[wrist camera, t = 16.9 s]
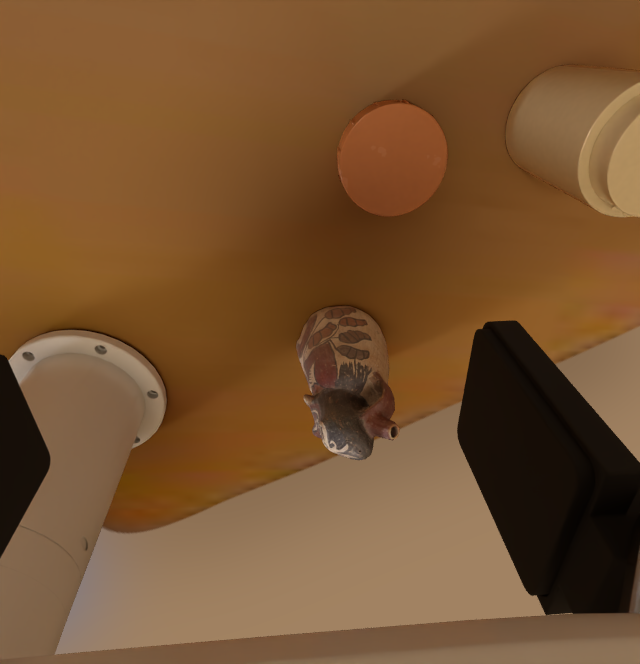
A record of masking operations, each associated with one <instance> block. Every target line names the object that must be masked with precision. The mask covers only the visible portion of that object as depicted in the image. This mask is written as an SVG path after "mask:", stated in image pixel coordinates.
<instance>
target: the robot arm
mask: <svg viewBox="0 0 640 664" xmlns="http://www.w3.org/2000/svg"><path fill="white" fill-rule="evenodd" d="M166 403H167V398H166V390H165V387H164V384H163V382H162V379H161V377H160V376H159V374H158V373H157V371H156V369H155V368H154V367H153V366H152V365H151V364H150V362H149V361H148V360H147V359H146V358H145V357H144V356H142V355H141V354H140V353H138V352H137V351H136V350H135V349H133V348H132V347H130V346H128V345H126V344H124V343H123V342H121V341H119V340H116V339H114V338H111V337H108V336H106V335H103V334H99V333H94V332H90V331H82V330H61V331H53V332H49V333H45V334H42V335H39V336H37V337H35V338H33V339H31V340H29V341H27V342H26V343H25V344H24V345H22V346H21V347H20V348H19V349H18V350H17V351H16V352H15V354H14V355H13V356H12V357H11V358H10V359H9V361H8V360H7V358H6V357H5V356H4V355H0V664H640V462H639V461H638V460H637V459H636V458H635V457H634V456H633V454H632V453H631V452H630V451H629V450H628V449H627V447H626V446H625V445H624V444H623V443H622V442H621V440H620V439H619V438H618V437H617V436H616V435H615V434H614V433H613V431H612V430H611V429H610V428H609V427H608V425H607V424H606V423H605V422H604V421H603V420H602V418H601V417H599V415H598V414H597V413H596V412H595V410H594V409H593V408H592V407H591V406H590V405H589V403H587V401H586V400H585V399H584V398H583V397H582V395H581V394H580V393H579V392H578V391H577V390H576V388H575V387H574V386H573V385H572V384H571V383H570V382H569V380H568V379H567V378H566V377H565V376H564V374H563V373H562V372H561V371H560V370H559V369H558V368H557V367H556V365H555V364H554V363H553V362H552V361H551V359H550V358H549V357H548V356H547V355H546V354H545V352H544V351H543V350H542V349H541V348H540V347H539V346H538V344H537V343H536V342H535V341H534V340H533V339H532V337H531V336H530V335H529V334H528V333H527V332H526V330H525V329H524V328H523V327H522V326H521V325H520V324H519V323H518V322H517V321H494V322H487V323H485V325H484V326H483V329H478V330H476V332H475V335H474V340H473V345H472V351H471V356H470V362H469V367H468V372H467V378H466V383H465V389H464V394H463V400H462V406H461V411H460V416H459V422H458V428H457V429H458V430H457V433H458V440H459V443H460V446H461V448H462V450H463V452H464V454H465V457H466V459H467V461H468V463H469V466H470V468H471V470H472V472H473V474H474V476H475V479H476V481H477V483H478V485H479V488H480V490H481V492H482V494H483V497H484V499H485V501H486V503H487V505H488V508H489V510H490V512H491V514H492V517H493V519H494V521H495V523H496V526H497V528H498V530H499V532H500V534H501V536H502V539H503V541H504V543H505V546H506V548H507V550H508V552H509V554H510V557H511V559H512V561H513V563H514V566H515V568H516V570H517V572H518V574H519V576H520V579H521V581H522V583H523V585H524V587H525V589H526V591H527V592H528V593H529V594H530V595H532V596H533V595H537V597H538V599H539V601H540V603H541V605H542V608H543V610H544V612H545V614H546V616H531V617H515V618H498V619H481V620H465V621H453V622H440V623H428V624H415V625H403V626H390V627H379V628H365V629H353V630H341V631H329V632H315V633H303V634H291V635H280V636H267V637H255V638H244V639H231V640H220V641H208V642H196V643H184V644H174V645H161V646H150V647H138V648H127V649H116V650H103V651H91V652H80V653H68V654H57V655H54V654H55V651H56V648H57V645H58V643H59V640H60V637H61V634H62V632H63V629H64V626H65V623H66V621H67V618H68V615H69V613H70V610H71V607H72V604H73V602H74V599H75V597H76V594H77V591H78V589H79V586H80V584H81V581H82V578H83V576H84V573H85V571H86V568H87V565H88V563H89V560H90V557H91V555H92V552H93V550H94V547H95V544H96V541H97V539H98V536H99V533H100V531H101V528H102V526H103V523H104V520H105V518H106V515H107V513H108V510H109V507H110V505H111V502H112V499H113V497H114V494H115V491H116V489H117V486H118V483H119V481H120V478H121V476H122V473H123V470H124V468H125V465H126V462H127V460H128V457H129V454H130V452H131V449H132V448H134V447H137V446H139V445H141V444H142V443H144V442H145V441H147V440H148V439H149V438H150V437H151V436H152V435H153V434H154V433H155V432H156V431H157V430H158V428H159V426H160V424H161V423H162V420H163V417H164V414H165V411H166ZM561 613H562V615H551V614H561ZM563 613H573V614H563Z"/></svg>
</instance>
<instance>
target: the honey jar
mask: <svg viewBox="0 0 640 664" xmlns="http://www.w3.org/2000/svg"><path fill="white" fill-rule="evenodd" d="M505 139H506V146H507V150H508V152H509V155H510V157H511V159H512V160H513V162H514V163H515V164H516V165H517V166H518V167H519V168H520V169H522V170H524V171H525V172H527V173H529V174H531V175H532V176H534V177H536V178H538V179H540V180H542V181H543V182H545V183H547V184H549V185H551V186H553V187H554V188H556V189H558V190H560V191H562V192H563V193H565V194H567V195H569V196H571V197H573V198H574V199H576V200H578V201H580V202H582V203H584V204H585V205H587V206H589V207H591V208H593V209H594V210H596V211H598V212H600V213H602V214H605V215H608V216H613V217H631V216H634V217H640V70H635V69H623V68H611V67H599V66H587V65H575V64H568V65H561V66H557V67H554V68H551V69H549V70H547V71H545V72H543V73H542V74H540V75H538V76H537V77H536V78H534V79H533V80H532V81H531V82H530V83H529V84H528V85H527V86H526V87H525V88H524V89H523V90H522V92H521V93H520V94H519V96H518V97H517V99H516V100H515V102H514V104H513V106H512V108H511V110H510V113H509V116H508V119H507V124H506V132H505Z"/></svg>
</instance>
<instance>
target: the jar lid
mask: <svg viewBox="0 0 640 664" xmlns="http://www.w3.org/2000/svg"><path fill="white" fill-rule="evenodd" d="M337 150H338V152H337V166H338V171H339V175H338V176H339V179H340V181H342V183H343V186H344V188H345V190H346V192H347V194H348V195H349V197H350V198H351V199H352V200H353V201H354V203H355V204H357V205H358V206H359V207H360V208H362V209H363V210H365V211H367V212H369V213H372V214H375V215H379V216H398V215H402V214H406V213H408V212H411V211H413V210H415V209H416V208H418V207H420V206H421V205H422V204H424V203H425V202H426V201H427V200H428V199H429V198H430V197H431V196H432V195H433V194H434V193H435V191H436V190H437V188H438V187H439V185H440V183H441V181H442V179H443V176H444V174H445V170H446V166H447V159H448V150H447V143H446V139H445V135H444V133H443V131H442V129H441V127H440V125H439V124H438V122H437V121H436V120H435V119H434V118H433V115H431V114H429V113H428V112H426V111H425V110H423V109H421V108H419V107H417V106H415V105H413V104H411V103H409V102H408V101H406V100H403V99H402V101H401V100H386V101H380V102H377V103H376V102H374V104H372V105H370V106H368V107H366V108H365V109H363V110H362V111H360V112H359V113H358V114H357V115H356V116H355V117H354V118H353V119H352V120H350V123H349V124H348V125H347V127H346V129H345V130H344V132H343V134H342V137H341V139H340V142H339V146H338V147H337Z"/></svg>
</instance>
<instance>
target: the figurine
mask: <svg viewBox="0 0 640 664" xmlns="http://www.w3.org/2000/svg"><path fill="white" fill-rule="evenodd" d="M296 349H297V353H298V356H299V360H300V363H301V365H302V368H303V370H304V373H305V376H306V379H307V381H308V384H309V388H310V390H311V392H312V394H313V395H312V396H311V395H304V401H305V403H306V404H307V405H308V406H309V407H310V409H311V412H312V415H313V417H314V421H315V425H314V427H313V429H312V431H313V434H314V435H315V436H317V437H319V438H322V441H323V444H324V445H325V446H326V448H327V449H328V450H330V451H331V452H333V453H336V454H338V455H341V456H343V457H346V458H350V459H355V460H363V459H366V458H367V457H369V456H370V455H371V453H372V449H373V442H374V437H375V436H378V437H382V438H385V439H389V440H394V439H396V438H397V437H398V435H399V432H400V430H399V427H398V425H397V424H396V423H395V422H393V421H391V420H389V419H390V418H391V416H392V414H393V412H394V411H395V402H394V397H393V394H392V391H391V389H390V387H389V386H388V376H389V362H388V352H387V345H386V340H385V338H384V336H383V334H382V331H381V329H380V327H379V326H378V324H377V323H376V322H375V321H374V320H373V319H372V318H371V317H370V315H368V314H366V313H365V312H363V311H361V310H359V309H357V308H354V307H351V306H335V307H327V308H324V309H321V310H319V311H317V312H316V313H314V314H312V315H311V316H310V318H309V320H308V321H307V323H306V324H305V325H304V327H303V330H302V332H301V336H300V338H299V340H298V341H297V345H296Z"/></svg>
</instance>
